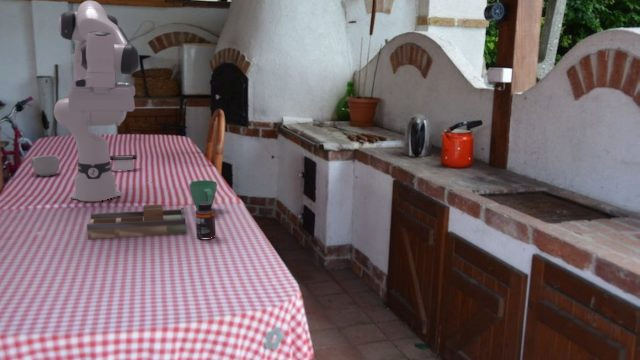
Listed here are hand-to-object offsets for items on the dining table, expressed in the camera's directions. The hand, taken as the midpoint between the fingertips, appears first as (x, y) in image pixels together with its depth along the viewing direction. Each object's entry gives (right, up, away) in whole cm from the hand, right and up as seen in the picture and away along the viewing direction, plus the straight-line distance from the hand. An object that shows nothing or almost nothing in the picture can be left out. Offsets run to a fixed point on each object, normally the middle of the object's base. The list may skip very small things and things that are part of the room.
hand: (102, 125), depth 205 cm
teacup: (-53, -16, +79) cm, 96 cm away
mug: (+29, -29, +24) cm, 48 cm away
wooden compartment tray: (+11, -34, +2) cm, 36 cm away
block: (+16, -31, +2) cm, 35 cm away
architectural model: (-21, -14, +90) cm, 93 cm away
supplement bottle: (+34, -36, -4) cm, 50 cm away
